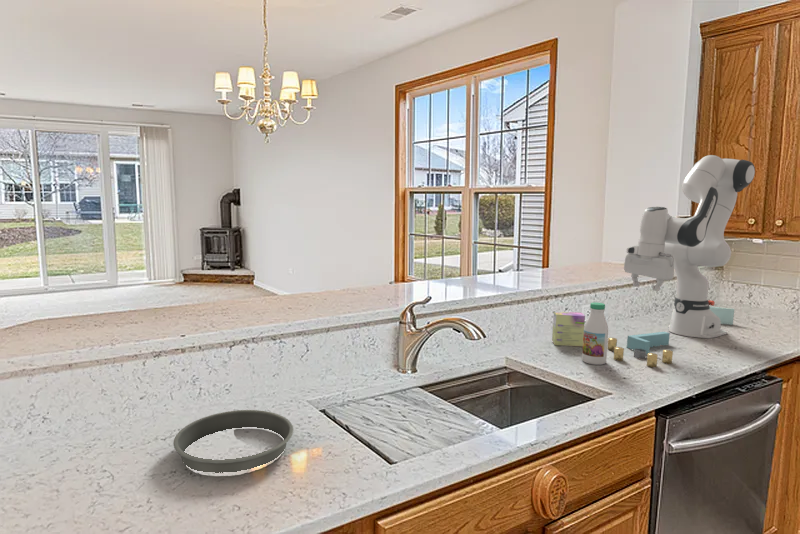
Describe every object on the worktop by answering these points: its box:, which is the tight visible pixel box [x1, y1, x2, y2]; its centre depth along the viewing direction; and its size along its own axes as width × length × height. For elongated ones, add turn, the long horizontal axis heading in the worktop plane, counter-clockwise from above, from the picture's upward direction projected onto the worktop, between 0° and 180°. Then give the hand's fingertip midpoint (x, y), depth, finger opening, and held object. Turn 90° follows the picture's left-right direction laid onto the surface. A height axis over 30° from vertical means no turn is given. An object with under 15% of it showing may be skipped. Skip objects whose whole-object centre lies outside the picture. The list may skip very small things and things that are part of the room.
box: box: [551, 311, 586, 348], centre depth 197 cm, size 10×6×12 cm, turn 84°
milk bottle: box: [581, 301, 609, 366], centre depth 176 cm, size 8×8×20 cm
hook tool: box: [626, 331, 670, 355], centre depth 193 cm, size 18×8×4 cm, turn 112°
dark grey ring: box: [173, 409, 294, 473], centre depth 114 cm, size 25×25×4 cm
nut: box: [633, 349, 647, 359], centre depth 183 cm, size 4×4×2 cm
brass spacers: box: [607, 337, 674, 369], centre depth 183 cm, size 16×22×4 cm
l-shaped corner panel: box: [710, 306, 735, 326], centre depth 238 cm, size 12×12×8 cm
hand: (645, 288), depth 195 cm, fingers open, 8 cm apart
